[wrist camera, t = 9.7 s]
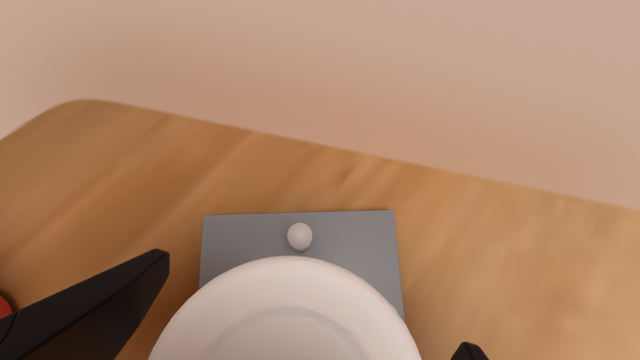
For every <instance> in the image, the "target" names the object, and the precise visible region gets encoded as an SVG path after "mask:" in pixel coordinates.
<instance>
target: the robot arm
mask: <svg viewBox="0 0 640 360" xmlns="http://www.w3.org/2000/svg"><path fill="white" fill-rule="evenodd" d="M169 263H170V255H169V253H168V252H167V251H164V250H160V249H153V250H150V251H148V252H146V253H144V254H142V255H139V256H137V257H135V258H133V259H131V260H128V261H126V262H124V263H122V264H119V265H117V266H115V267H113V268H111V269H108V270H106V271H104V272H102V273H100V274H97V275H95V276H93V277H91V278H89V279H86V280H84V281H82V282H80V283H78V284H75V285H73V286H71V287H69V288H67V289H64V290H62V291H60V292H58V293H55V294H53V295H51V296H49V297H47V298H44V299H42V300H40V301H38V302H36V303H33V304H31V305H29V306H27V307H25V308H22V309H20V310H19V311H18V312H13V313H11V314H9V315H7V316H4V317H2V318H0V360H114V359H115V358H116V356H117V355H118V354H119V352H120V351H121V349H122V348H123V347H124V345H125V344H126V343H127V341H128V340H129V339H130V337H131V336H132V335H133V333H134V332H135V331H136V329H137V328H138V326H139V325H140V323H141V322H142V320H143V318H144V317H145V315H146V313H147V312H148V310H149V308H150V307H151V305H152V303H153V302H154V300H155V298H156V297H157V295H158V293H159V292H160V290H161V288H162V287H163V285H164V283H165V282H166V280H167V278H168V275H169ZM451 360H489V359H488V358H487V356H486V355H485V354H484V352H483V351H482V349H481V348H480V347H479V346H478V345H475V344H472V343H469V342H462V343H461V344H460V346H459V347H458V349H457V350H456V352H455V353H454V355H453V356H452V358H451Z"/></svg>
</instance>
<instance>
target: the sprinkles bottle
mask: <svg viewBox="0 0 640 360" xmlns="http://www.w3.org/2000/svg"><path fill="white" fill-rule="evenodd" d="M148 360H422V359H421V356H420V354H419V351H418V349H417V346H416V344H415V341H414V339H413V338H412V336H411V334H410V332H409V330H408V328H407V327H406V325H405V323H404V322H403V320H402V319H401V317H400V316H399V315H398V313H397V312H396V311H395V309H394V308H393V307H392V306H391V304H390V303H389V302H388V301H387V300H386V299H385V298H384V297H383V296H382V295H381V294H380V293H379V292H378V291H377V290H376V289H375V288H373V287H372V286H371V285H370V284H369V283H367V282H366V281H365V280H364V279H362V278H361V277H359V276H357V275H356V274H354V273H352V272H351V271H349V270H347V269H345V268H342V267H340V266H338V265H336V264H333V263H330V262H327V261H324V260H320V259H316V258H311V257H303V256H273V257H267V258H262V259H258V260H254V261H250V262H247V263H245V264H242V265H240V266H237V267H234V268H232V269H230V270H228V271H227V272H225V273H223V274H221V275H219V276H217V277H216V278H214V279H213V280H211V281H210V282H208V283H207V284H206V285H204V286H203V287H202V288H201V289H199V290H198V291H197V292H196V293H195V294H194V295H192V296H191V297H190V298H189V299H188V300H187V301H186V302H185V303H184V304H183V305H182V307H181V308H180V309H179V310H178V311H177V312H176V313H175V315H174V316H173V317H172V318H171V320H170V321H169V323H168V324H167V326H166V327H165V329H164V330H163V332H162V333H161V335H160V337H159V339H158V340H157V342H156V344H155V346H154V347H153V350H152V352H151V354H150V356H149V358H148Z"/></svg>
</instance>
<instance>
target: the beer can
mask: <svg viewBox="0 0 640 360" xmlns="http://www.w3.org/2000/svg"><path fill="white" fill-rule="evenodd" d="M11 313H12V311H11V308H10V306H9V304H8V302H7V301H6V300H5V299H4V298H2V297H1V296H0V318H2V317H4V316H7V315H9V314H11Z"/></svg>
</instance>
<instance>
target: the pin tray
mask: <svg viewBox="0 0 640 360" xmlns="http://www.w3.org/2000/svg"><path fill="white" fill-rule="evenodd" d="M273 256H303V257H311V258H316V259H320V260H324V261H327V262H330V263H333V264H336V265H338V266H340V267H342V268H345V269H347V270H349V271H351V272H352V273H354V274H356V275H357V276H359V277H361V278H362V279H364V280H365V281H366V282H367V283H369V284H370V285H371V286H372V287H373V288H375V289H376V290H377V291H378V292H379V293H380V294H381V295H382V296H383V297H384V298H385V299H386V300H387V301H388V302H389V303H390V304H391V306H392V307H393V308H394V309H395V311H396V312H397V313H398V315H399V316H400V317H401V319H402V320H403V322H404V323H405V318H404V308H403V298H402V288H401V279H400V269H399V259H398V249H397V240H396V230H395V220H394V210H375V211H338V212H301V213H264V214H227V215H203V230H202V245H201V260H200V276H199V289H201V288H202V287H203V286H204V285H206V284H207V283H208V282H210V281H211V280H213V279H214V278H216V277H217V276H219V275H221V274H223V273H225V272H227V271H228V270H230V269H232V268H234V267H237V266H240V265H242V264H245V263H247V262H250V261H254V260H258V259H262V258H267V257H273Z"/></svg>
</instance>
